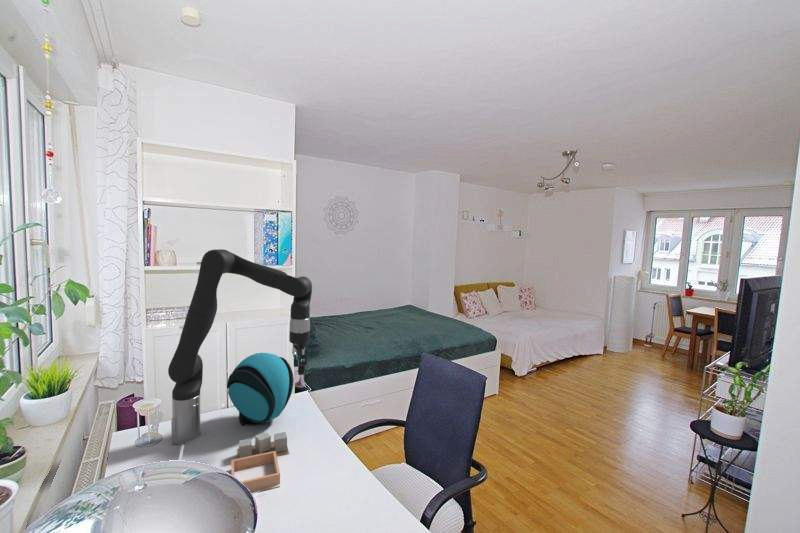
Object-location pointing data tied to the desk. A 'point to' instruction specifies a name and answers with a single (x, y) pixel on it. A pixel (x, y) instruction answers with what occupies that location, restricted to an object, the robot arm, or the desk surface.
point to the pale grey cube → (262, 442)
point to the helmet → (260, 387)
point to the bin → (253, 461)
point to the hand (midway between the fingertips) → (298, 370)
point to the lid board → (255, 452)
